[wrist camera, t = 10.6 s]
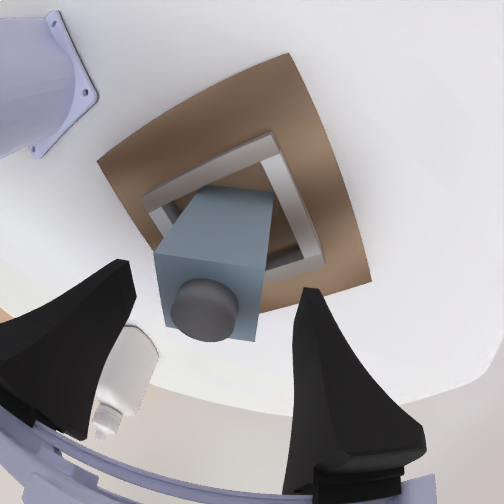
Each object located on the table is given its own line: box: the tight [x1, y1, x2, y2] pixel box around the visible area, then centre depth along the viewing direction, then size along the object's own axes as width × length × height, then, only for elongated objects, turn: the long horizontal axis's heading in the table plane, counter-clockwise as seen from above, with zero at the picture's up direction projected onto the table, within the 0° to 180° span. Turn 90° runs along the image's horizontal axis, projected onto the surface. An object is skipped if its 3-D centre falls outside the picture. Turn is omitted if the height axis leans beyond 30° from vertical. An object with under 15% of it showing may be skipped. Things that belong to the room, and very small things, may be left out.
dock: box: [97, 53, 372, 314], centre depth 16 cm, size 15×13×2 cm
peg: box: [154, 185, 274, 342], centre depth 13 cm, size 4×4×8 cm
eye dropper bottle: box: [92, 327, 158, 442], centre depth 22 cm, size 4×6×12 cm
